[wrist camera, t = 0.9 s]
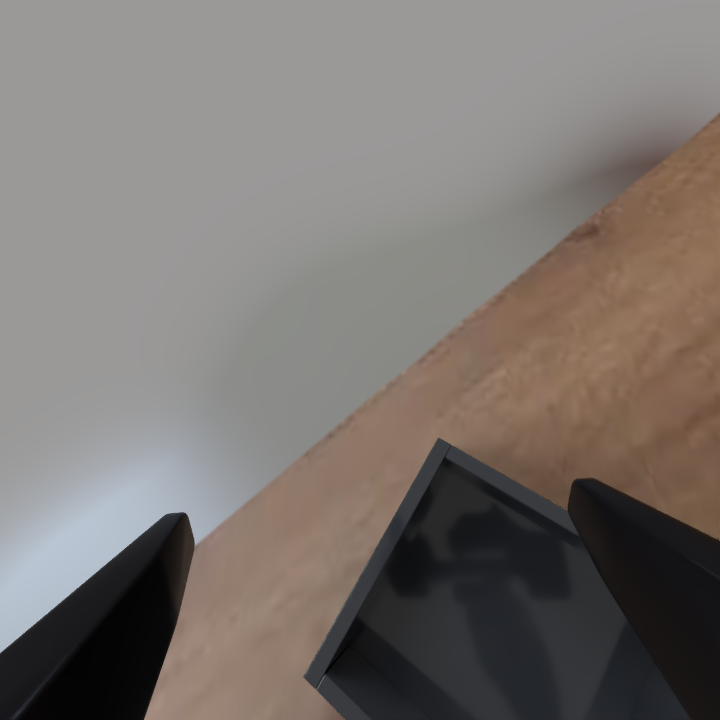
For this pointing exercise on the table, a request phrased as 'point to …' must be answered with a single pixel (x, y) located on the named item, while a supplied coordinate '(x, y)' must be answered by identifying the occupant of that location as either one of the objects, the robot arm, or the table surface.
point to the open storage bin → (484, 614)
